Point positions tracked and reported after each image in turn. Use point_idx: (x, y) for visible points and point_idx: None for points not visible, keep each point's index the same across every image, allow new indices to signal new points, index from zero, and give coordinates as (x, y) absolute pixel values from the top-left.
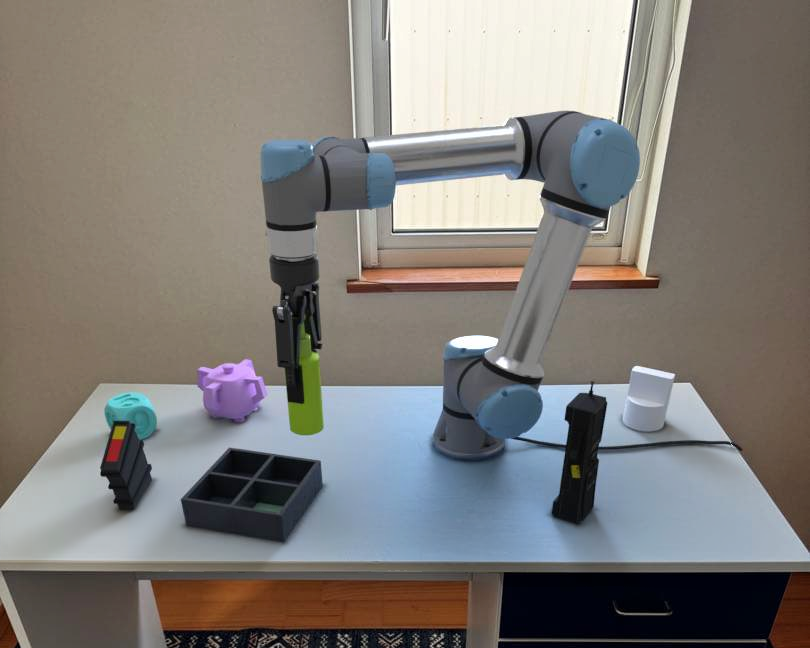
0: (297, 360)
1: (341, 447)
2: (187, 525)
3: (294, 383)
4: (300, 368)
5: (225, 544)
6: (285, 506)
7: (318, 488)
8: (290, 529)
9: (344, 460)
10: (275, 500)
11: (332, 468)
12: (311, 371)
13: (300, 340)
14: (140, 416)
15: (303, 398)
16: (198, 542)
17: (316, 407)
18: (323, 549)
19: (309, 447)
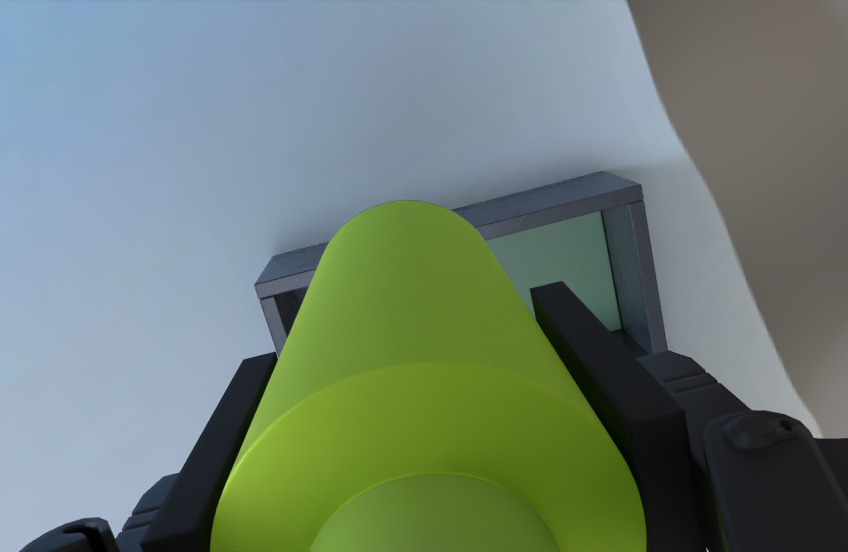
0: (780, 466)
1: (21, 349)
2: None
3: (697, 366)
4: (666, 405)
5: (683, 315)
6: (585, 206)
7: (308, 249)
8: (556, 185)
9: (88, 288)
10: None
11: (159, 293)
12: (500, 335)
13: None
14: None
15: (552, 294)
16: None
17: (436, 233)
18: (580, 36)
19: (94, 440)
